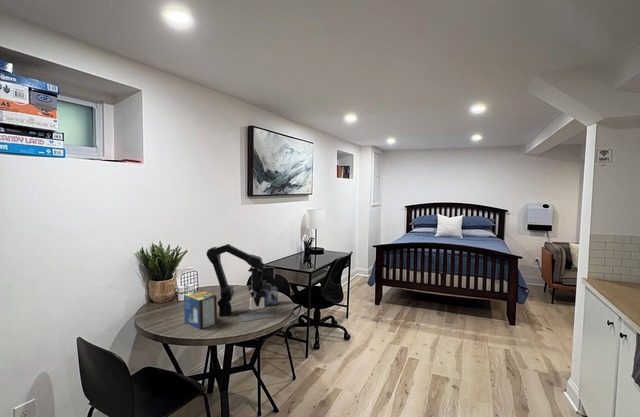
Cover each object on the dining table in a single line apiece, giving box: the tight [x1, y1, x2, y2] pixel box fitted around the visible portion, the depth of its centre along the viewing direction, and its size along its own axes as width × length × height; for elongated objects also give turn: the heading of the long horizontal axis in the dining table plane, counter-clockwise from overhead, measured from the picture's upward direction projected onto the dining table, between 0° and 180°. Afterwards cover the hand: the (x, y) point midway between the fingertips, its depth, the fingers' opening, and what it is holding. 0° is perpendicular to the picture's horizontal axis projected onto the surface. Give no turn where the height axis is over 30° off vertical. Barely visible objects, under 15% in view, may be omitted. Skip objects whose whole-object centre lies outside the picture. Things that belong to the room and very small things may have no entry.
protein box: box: [183, 290, 218, 330], centre depth 181 cm, size 10×15×16 cm
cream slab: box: [249, 297, 265, 311], centre depth 195 cm, size 8×2×6 cm, turn 116°
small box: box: [261, 285, 279, 307], centre depth 211 cm, size 11×6×10 cm, turn 112°
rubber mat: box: [238, 309, 276, 323], centre depth 192 cm, size 18×12×1 cm, turn 116°
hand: (256, 305), depth 195 cm, fingers closed on cream slab, 2 cm apart
